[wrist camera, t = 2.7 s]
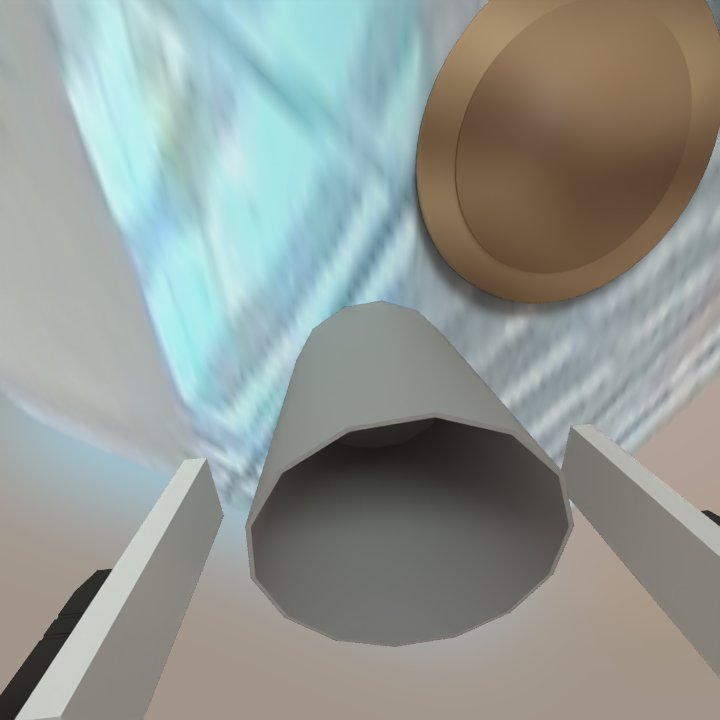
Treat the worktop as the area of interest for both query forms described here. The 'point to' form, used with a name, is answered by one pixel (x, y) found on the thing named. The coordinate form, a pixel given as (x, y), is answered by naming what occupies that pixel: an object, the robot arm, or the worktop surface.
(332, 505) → the cup
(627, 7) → the plate
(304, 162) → the worktop surface
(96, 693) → the robot arm
